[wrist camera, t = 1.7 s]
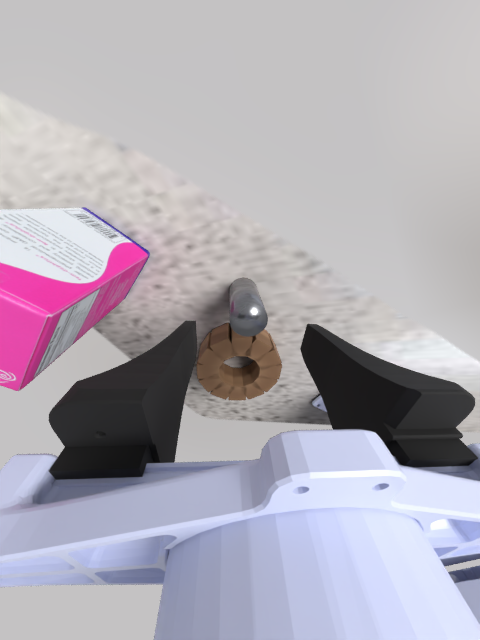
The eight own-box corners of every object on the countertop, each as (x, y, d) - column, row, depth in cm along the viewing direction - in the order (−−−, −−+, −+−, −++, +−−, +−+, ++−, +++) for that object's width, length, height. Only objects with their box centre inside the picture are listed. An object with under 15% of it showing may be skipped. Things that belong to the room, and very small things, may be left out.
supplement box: (61, 264, 17) (-164, 337, 7) (85, 205, 15) (-185, 195, 5) (125, 301, 19) (15, 397, 9) (153, 253, 17) (50, 311, 7)
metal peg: (262, 287, 19) (275, 315, 14) (246, 308, 20) (253, 342, 15) (239, 272, 19) (243, 296, 13) (224, 295, 20) (222, 326, 14)
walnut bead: (290, 344, 23) (298, 361, 20) (247, 389, 27) (249, 408, 24) (225, 308, 20) (225, 322, 18) (187, 363, 24) (182, 382, 21)
